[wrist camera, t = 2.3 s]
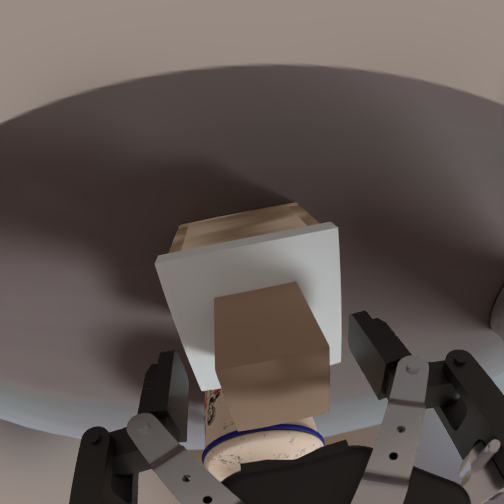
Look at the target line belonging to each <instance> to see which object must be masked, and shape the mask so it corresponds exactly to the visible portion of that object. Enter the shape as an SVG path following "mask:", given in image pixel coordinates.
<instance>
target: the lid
mask: <svg viewBox="0 0 504 504" xmlns="http://www.w3.org/2000/svg"><path fill="white" fill-rule="evenodd" d="M155 267H156V270H157V273H158V276H159V279H160V282H161V285H162V288H163V291H164V294H165V297H166V300H167V303H168V306H169V309H170V312H171V315H172V317H173V320H174V323H175V326H176V328H177V331H178V334H179V336H180V339H181V342H182V344H183V347H184V350H185V352H186V355H187V357H188V360H189V362H190V365H191V367H192V370H193V372H194V374H195V377H196V379H197V382H198V384H199V386H200V389H201V391H207V390H214V389H220V388H221V389H222V391H223V394H224V397H225V399H226V402H227V405H228V407H229V410H230V413H231V415H232V418H233V420H234V423H235V425H236V428H237V430H238V432H239V431H245V430H251V429H257V428H263V427H268V426H273V425H278V424H282V423H287V422H292V421H296V420H300V419H304V418H308V417H312V416H316V415H320V414H323V413H327V412H329V400H330V365H332V364H336V363H339V362H341V277H340V254H339V236H338V227H337V226H335V225H334V224H333V223H332V222H326V223H321V224H315V225H310V226H305V227H299V228H294V229H289V230H284V231H278V232H273V233H268V234H263V235H258V236H252V237H247V238H242V239H237V240H232V241H227V242H222V243H217V244H212V245H207V246H202V247H197V248H192V249H187V250H182V251H178V252H173V253H168V254H163V255H158V257H157V259H156V262H155Z"/></svg>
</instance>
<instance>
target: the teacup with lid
mask: <svg viewBox="0 0 504 504" xmlns="http://www.w3.org/2000/svg"><path fill="white" fill-rule="evenodd" d="M323 446H324V439H323V437H322V436H321V435H320V434H319V433H318V432H317V429H316V426H315V423H314V420H313V417H308V418H304V419H300V420H296V421H292V422H287V423H282V424H278V425H273V426H268V427H263V428H257V429H251V430H245V431H239V432H238V430H237V428H236V425H235V423H234V420H233V418H232V415H231V413H230V410H229V407H228V405H227V402H226V399H225V397H224V394H223V391H222V389H221V388H220V389H214V390H207V391H205V450H204V451H203V454H202V462H203V464H204V466H205V468H206V469H207V470H208V471H209V472H210V473H211V474H212V475H213V476H214V477H215V478H216V479H217V480H219V481H222V480H224V479H225V478H226V477H228V476H230V475H231V474H233V473H235V472H238V471H240V470H241V467H240V464H241V463H248V462H255V461H260V460H266V459H270V460H293V459H297V458H300V457H302V456H304V455H306V454H308V453H310V452H312V451H314V450H316V449H318V448H320V447H323Z"/></svg>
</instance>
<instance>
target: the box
mask: <svg viewBox="0 0 504 504" xmlns="http://www.w3.org/2000/svg"><path fill="white" fill-rule="evenodd" d="M315 224H320V223H319V222H318V221H317V220H315V219H314V218H313V217H312V216H311V215H310V214H309V213H308V212H306V211H305V210H304V209H303V208H302V207H301V206H299V205H298V204H297V203H296V202H295V203H289V204H283V205H278V206H272V207H267V208H261V209H256V210H251V211H246V212H240V213H235V214H230V215H225V216H220V217H215V218H210V219H205V220H200V221H196V222H191V223H186V224H182V225H179V227H178V230H177V232H176V235H175V237H174V240H173V242H172V245H171V247H170V250H169V253H173V252H178V251H182V250H187V249H192V248H197V247H202V246H207V245H212V244H217V243H222V242H227V241H232V240H237V239H242V238H247V237H252V236H258V235H263V234H268V233H273V232H278V231H284V230H289V229H294V228H299V227H305V226H310V225H315Z"/></svg>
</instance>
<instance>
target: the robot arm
mask: <svg viewBox="0 0 504 504" xmlns="http://www.w3.org/2000/svg"><path fill="white" fill-rule="evenodd" d="M490 326H491V328H492V330H493V331H494V332H495V333H496V334H497V335H499V336H500V337H501V338H502V339H503V340H504V287H503V289H502V290H501V292H500V294H499V296H498V298H497V300H496V302H495V304H494V307H493V310H492V313H491V318H490ZM348 342H349V347H350V350H351V352H352V354H353V356H354V358H355V359H356V361H357V363H358V364H359V366H360V368H361V370H362V371H363V373H364V375H365V377H366V378H367V380H368V382H369V384H370V385H371V387H372V389H373V391H374V392H375V394H376V396H377V398H378V400H381V399H383V398H386V397H387V399H388V404H387V407H386V411H385V414H384V418H383V421H382V424H381V427H380V430H379V434H378V437H377V439H376V442H375V445H374V448H370V447H366V446H354V445H353V446H348V443H347V441H346V440H343V441H340V442H336V443H333V444H330V445H327V446H323V447H320V448H318V449H316V450H314V451H312V452H310V453H308V454H306V455H304V456H302V457H300V458H297V459H293V460H270V459H266V460H260V461H255V462H248V463H241V464H240V467H241V470H240V471H238V472H235V473H233V474H231V475H230V476H228V477H226V478H225V479H224V480H222V481H221V482H220V481H218V480H217V479H216V478H215V477H214V476H213V475H212V474H211V473H210V472H209V471H208V470H207V469H206V468H205V467H204V466H203V465H201V463H200V462H198V461H197V460H196V459H195V458H194V456H193V455H192V454H191V453H189V452H188V450H187V449H186V448H185V447H184V446H181V445H180V444H179V442H187V419H188V396H189V380H188V376H187V373H186V370H185V368H184V366H183V363H182V361H181V359H180V356H179V354H178V352H177V351H176V350H174V351H167V352H161V353H160V355H159V360H158V364H152V365H151V366H150V368H149V369H148V370H147V372H146V375H145V380H144V384H143V390H142V394H141V399H140V404H139V409H138V414H137V415H135V416H134V417H132V418H131V419H130V420H129V422H128V424H127V427H125V428H123V429H120V430H116V431H113V432H108V431H107V430H106V429H105V428H103V427H92V428H90V429H88V430H87V431H86V432H85V433H84V434H83V436H82V439H81V443H80V448H79V452H78V457H77V462H76V467H75V472H74V478H73V483H72V489H71V495H70V502H69V504H137V500H138V499H137V498H138V497H137V495H138V474H139V472H142V471H145V470H149V469H153V471H154V472H155V473H156V474H157V475H158V477H159V478H160V479H161V481H162V482H163V483H164V484H165V486H166V487H167V488H168V489H169V490H170V491H171V493H172V494H173V495H174V496H175V497H176V498H177V499H178V501H179V502H180V503H181V504H483V503H484V502H485V501H487V500H494V499H497V498H498V497H500V496H501V495H502V494H503V493H504V395H503V394H502V392H501V391H500V390H499V388H498V387H497V386H496V385H495V384H494V382H493V381H492V380H491V378H490V377H489V376H488V375H487V373H486V372H485V371H484V370H483V368H482V367H481V366H480V365H479V363H478V362H477V361H476V360H475V359H474V357H473V356H472V355H471V354H470V353H468V352H467V351H464V350H453V351H451V352H449V353H448V354H447V356H446V359H445V360H444V361H437V362H427V361H426V360H425V359H424V358H422V357H420V356H415V355H411V353H410V352H409V351H408V349H407V348H406V347H405V346H404V344H403V343H402V342H401V341H400V339H399V338H398V337H397V336H396V334H395V333H394V332H393V331H392V329H391V328H390V327H389V326H388V325H387V323H386V322H384V321H382V320H380V319H378V318H375V319H372V318H371V317H370V316H369V314H368V313H367V312H366V311H361V312H358V313H354V314H350V315H349V333H348ZM427 408H434V409H435V411H436V413H437V415H438V416H439V418H440V419H441V421H442V423H443V425H444V427H445V428H446V430H447V432H448V434H449V435H450V437H451V439H452V441H453V443H454V444H455V446H456V448H457V450H458V452H459V454H460V456H461V457H462V459H463V461H462V463H461V465H460V468H459V474H460V477H461V485H460V484H458V483H456V482H453V481H451V480H448V479H445V478H442V477H440V476H437V475H434V474H432V473H429V472H427V471H424V470H422V469H419V468H417V467H414V466H413V464H414V460H415V456H416V452H417V448H418V443H419V440H420V435H421V430H422V425H423V420H424V415H425V409H427Z"/></svg>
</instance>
